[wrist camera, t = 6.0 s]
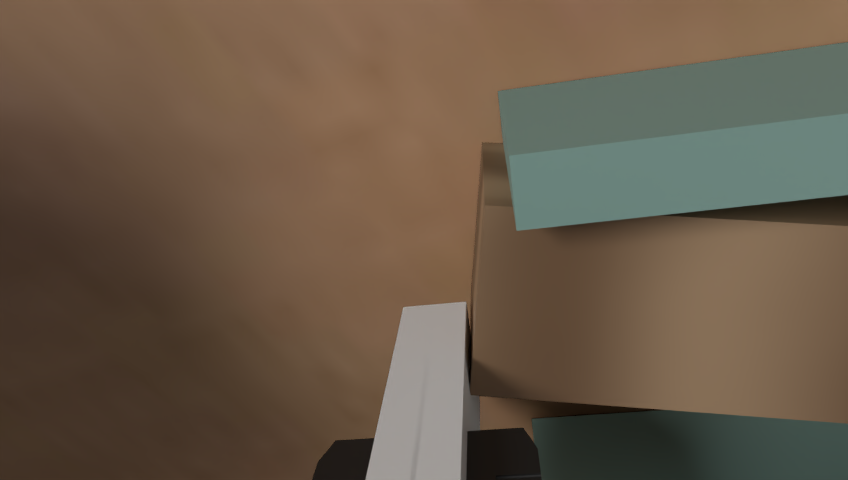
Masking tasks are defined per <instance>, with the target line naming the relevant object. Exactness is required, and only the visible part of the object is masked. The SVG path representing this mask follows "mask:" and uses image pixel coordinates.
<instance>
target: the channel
mask: <svg viewBox="0 0 848 480" xmlns="http://www.w3.org/2000/svg"><path fill="white" fill-rule="evenodd" d="M498 98H499V107H500V117H501V127H502V136H503V145H504V152H505V158H506V165H507V171H508V178H509V185H510V191H511V198H512V204H513V211H514V217H515V224H516V230H517V231H520V230H529V229H539V228H548V227H557V226H566V225H575V224H585V223H594V222H603V221H612V220H622V219H631V218H640V217H649V216H658V215H668V214H677V213H686V212H695V211H705V210H714V209H723V208H732V207H741V206H751V205H760V204H769V203H778V202H788V201H797V200H806V199H815V198H824V197H834V196H843V195H848V42H846V43H838V44H831V45H824V46H817V47H810V48H803V49H796V50H788V51H781V52H774V53H767V54H760V55H753V56H746V57H738V58H731V59H724V60H717V61H710V62H703V63H695V64H688V65H681V66H674V67H667V68H660V69H653V70H645V71H638V72H631V73H624V74H617V75H610V76H603V77H595V78H588V79H581V80H574V81H567V82H560V83H552V84H545V85H538V86H531V87H524V88H517V89H510V90H502V91H498ZM532 427H533V437H534V444H535V445H536V447H537V448H538V454H539V462H540V470H541V478H542V480H848V424H846V423H833V422H820V421H806V420H793V419H780V418H766V417H753V416H740V415H727V414H713V413H700V412H687V411H674V410H657V411H642V412H627V413H612V414H597V415H582V416H567V417H552V418H537V419H532Z"/></svg>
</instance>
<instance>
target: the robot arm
mask: <svg viewBox="0 0 848 480" xmlns="http://www.w3.org/2000/svg"><path fill="white" fill-rule="evenodd" d="M470 349H471V333H470V326H469V318H468V311H467V304H466V302H457V303H445V304H433V305H422V306H410V307H403V311H402V316H401V320H400V325H399V329H398V334H397V339H396V343H395V348H394V352H393V357H392V361H391V366H390V370H389V375H388V379H387V384H386V389H385V393H384V398H383V402H382V407H381V411H380V416H379V420H378V425H377V429H376V434H375V438H371V439H354V440H337V441H335V442H334V443H333V444H332V446H331V447H330V448H329V449H328V450H327V452H326V453H325V454H324V455H323V457H322V458H321V459H320V460H319V461H318V464H317V467H316V470H315V473H314V476H313V479H312V480H542V478H541V470H540V462H539V454H538V448H537V447H536V445H535V444H534V442H533V441H532V440H531V438H530V437H529V435H528V434H527V432H526V431H525V430H524V428H512V429H495V430H480V399H479V396H475V395H471V394H470Z"/></svg>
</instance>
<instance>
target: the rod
mask: <svg viewBox="0 0 848 480" xmlns="http://www.w3.org/2000/svg"><path fill="white" fill-rule="evenodd" d="M470 333H471V349H470V394H471V395H475V396H488V397H501V398H514V399H528V400H541V401H554V402H567V403H581V404H594V405H607V406H621V407H634V408H647V409H660V410H674V411H687V412H700V413H713V414H727V415H740V416H753V417H766V418H780V419H793V420H806V421H820V422H833V423H846V424H848V195H843V196H834V197H824V198H815V199H806V200H797V201H788V202H778V203H769V204H760V205H751V206H741V207H732V208H723V209H714V210H705V211H695V212H686V213H677V214H668V215H658V216H649V217H640V218H631V219H622V220H612V221H603V222H594V223H585V224H575V225H566V226H557V227H548V228H539V229H529V230H520V231H517V230H516V224H515V217H514V211H513V204H512V198H511V191H510V185H509V178H508V171H507V165H506V158H505V152H504V145H503V144H501V143H482V150H481V164H480V177H479V191H478V205H477V218H476V232H475V245H474V259H473V273H472V286H471V325H470Z"/></svg>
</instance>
